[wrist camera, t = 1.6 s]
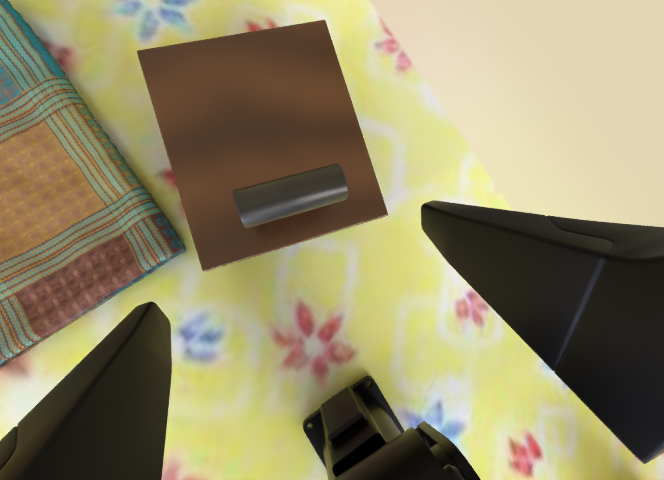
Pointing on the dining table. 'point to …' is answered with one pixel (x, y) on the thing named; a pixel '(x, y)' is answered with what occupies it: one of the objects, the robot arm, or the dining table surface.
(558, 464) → the dining table surface
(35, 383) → the dining table surface
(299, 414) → the dining table surface
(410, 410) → the dining table surface
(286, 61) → the lid
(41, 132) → the dish towel
